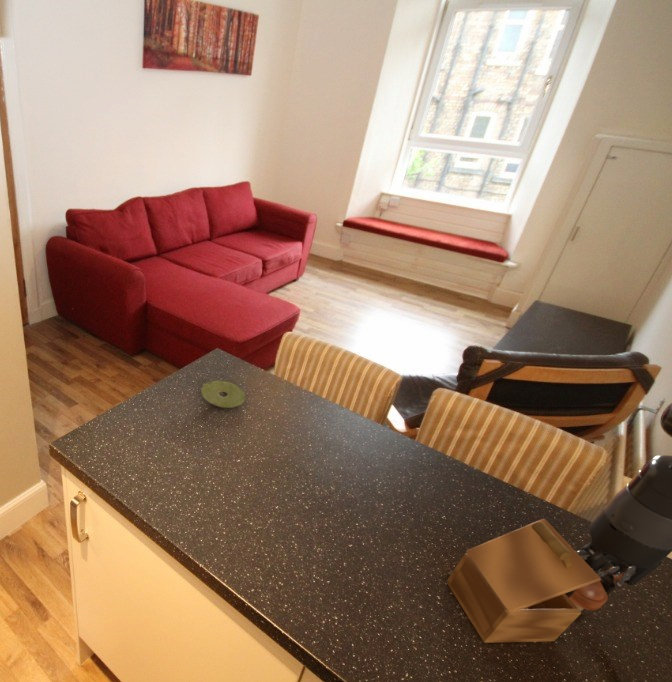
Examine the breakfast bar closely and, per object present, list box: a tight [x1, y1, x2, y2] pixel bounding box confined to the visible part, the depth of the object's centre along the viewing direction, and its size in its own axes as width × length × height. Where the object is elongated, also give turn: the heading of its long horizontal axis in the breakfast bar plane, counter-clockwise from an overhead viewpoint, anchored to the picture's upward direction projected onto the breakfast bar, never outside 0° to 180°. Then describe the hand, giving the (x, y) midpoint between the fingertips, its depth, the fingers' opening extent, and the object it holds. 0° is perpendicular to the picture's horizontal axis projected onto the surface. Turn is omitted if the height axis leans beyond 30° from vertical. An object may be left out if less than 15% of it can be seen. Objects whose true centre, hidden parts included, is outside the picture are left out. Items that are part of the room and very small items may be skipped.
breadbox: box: [445, 553, 582, 644], centre depth 69 cm, size 11×9×8 cm
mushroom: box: [569, 581, 608, 613], centre depth 70 cm, size 6×6×7 cm
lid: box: [465, 518, 601, 613], centre depth 64 cm, size 12×9×5 cm
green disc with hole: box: [200, 380, 246, 409], centre depth 113 cm, size 11×11×2 cm
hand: (575, 594), depth 70 cm, fingers closed on mushroom, 5 cm apart
